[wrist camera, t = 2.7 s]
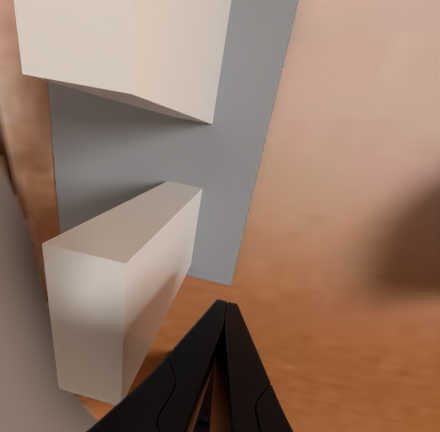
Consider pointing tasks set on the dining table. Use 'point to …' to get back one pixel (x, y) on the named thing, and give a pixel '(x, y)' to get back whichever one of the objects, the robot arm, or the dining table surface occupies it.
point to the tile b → (129, 50)
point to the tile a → (117, 287)
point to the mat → (179, 141)
